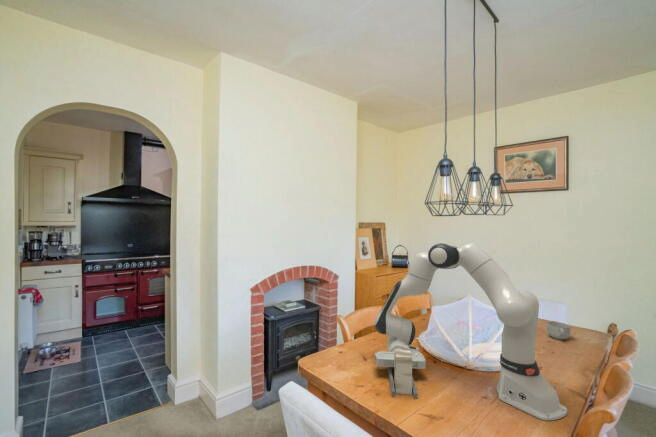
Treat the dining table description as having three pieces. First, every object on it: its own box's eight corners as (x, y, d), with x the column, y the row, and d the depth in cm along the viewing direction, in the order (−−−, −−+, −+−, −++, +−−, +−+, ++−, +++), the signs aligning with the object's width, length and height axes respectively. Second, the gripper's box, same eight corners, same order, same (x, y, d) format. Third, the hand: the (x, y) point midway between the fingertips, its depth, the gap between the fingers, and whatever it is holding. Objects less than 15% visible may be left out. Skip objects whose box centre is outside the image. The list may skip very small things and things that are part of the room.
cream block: (394, 384, 125) (394, 349, 124) (409, 385, 124) (409, 350, 124) (395, 393, 119) (395, 356, 118) (411, 394, 118) (412, 357, 118)
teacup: (547, 332, 185) (547, 319, 185) (570, 337, 178) (570, 323, 178) (546, 340, 173) (546, 325, 173) (571, 345, 167) (571, 330, 167)
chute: (386, 370, 138) (386, 363, 138) (410, 372, 137) (410, 365, 137) (390, 399, 116) (390, 391, 116) (418, 401, 115) (418, 393, 115)
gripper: (374, 345, 139) (375, 359, 125) (422, 348, 137) (428, 362, 123) (374, 359, 139) (375, 375, 125) (422, 362, 137) (428, 378, 123)
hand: (402, 369), depth 124 cm, fingers closed, pressing on cream block
